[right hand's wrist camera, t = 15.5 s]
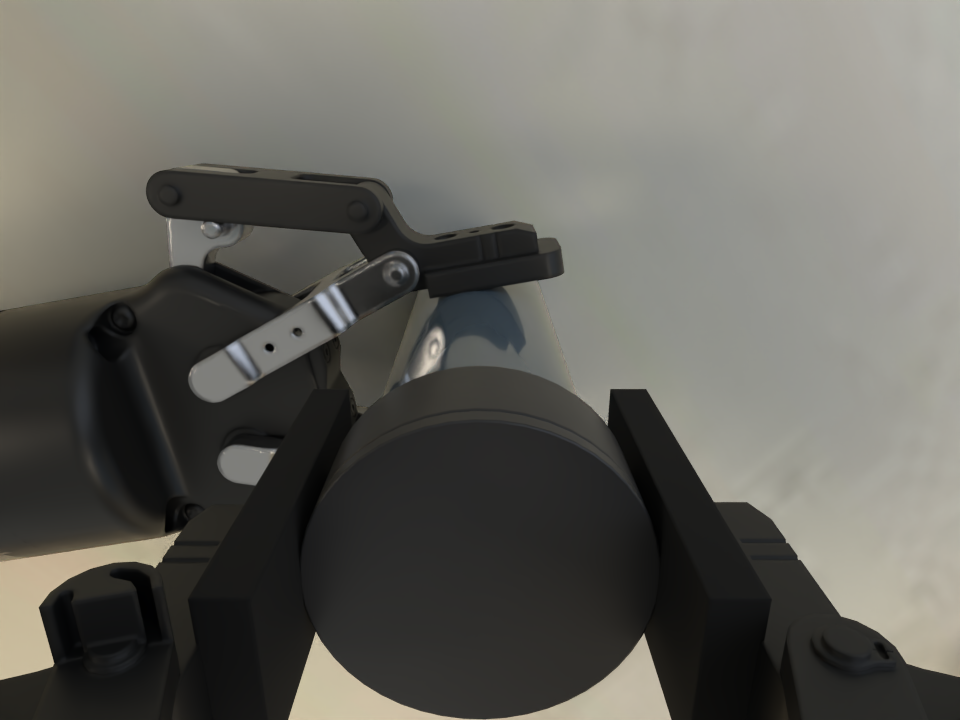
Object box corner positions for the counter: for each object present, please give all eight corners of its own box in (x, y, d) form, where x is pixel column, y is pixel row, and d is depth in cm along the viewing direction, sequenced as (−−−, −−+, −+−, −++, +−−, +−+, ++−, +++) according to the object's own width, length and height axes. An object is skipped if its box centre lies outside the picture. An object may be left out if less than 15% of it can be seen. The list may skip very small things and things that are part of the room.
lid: (344, 628, 13) (319, 723, 11) (313, 368, 12) (276, 424, 9) (623, 622, 13) (650, 716, 11) (639, 360, 11) (675, 415, 9)
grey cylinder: (537, 234, 25) (619, 408, 10) (542, 351, 27) (619, 646, 12) (413, 243, 25) (320, 428, 11) (425, 359, 27) (360, 661, 12)
